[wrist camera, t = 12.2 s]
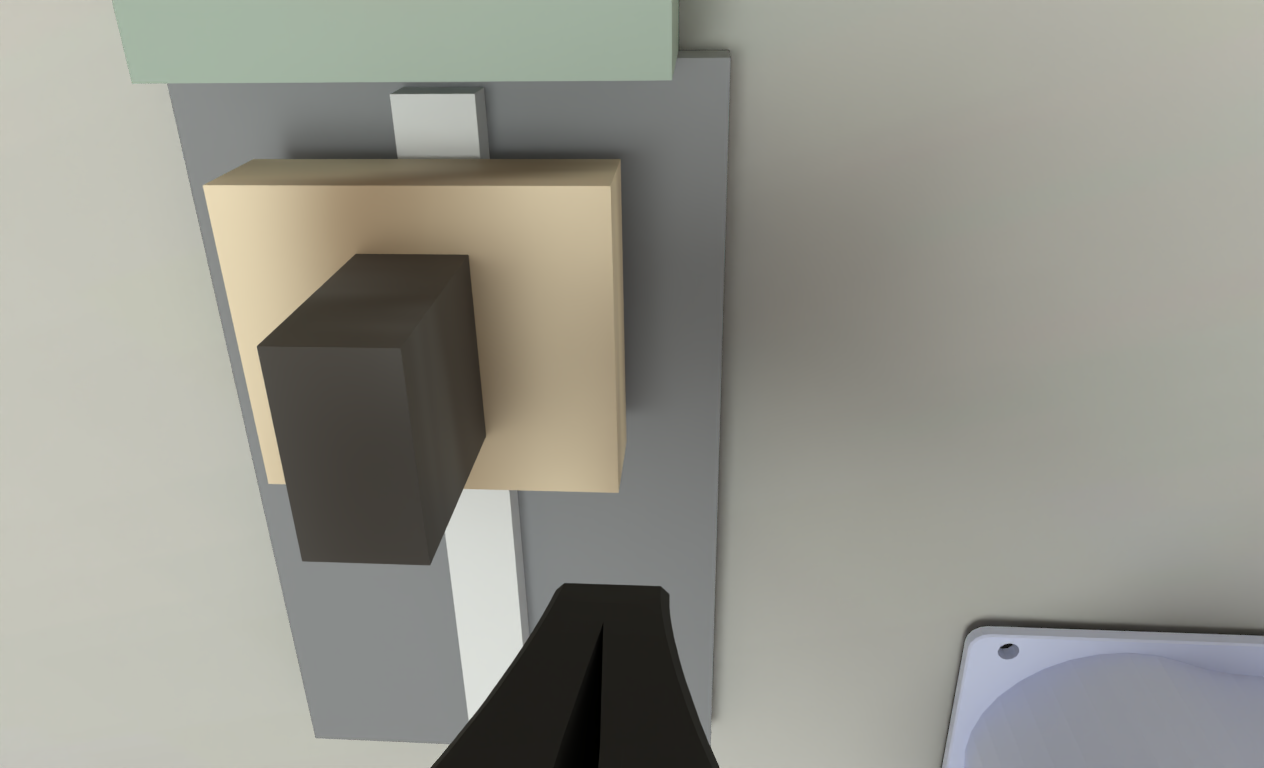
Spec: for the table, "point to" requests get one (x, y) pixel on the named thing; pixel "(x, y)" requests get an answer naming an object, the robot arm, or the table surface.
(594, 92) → the track
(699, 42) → the table surface
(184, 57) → the green button housing
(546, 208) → the carriage
